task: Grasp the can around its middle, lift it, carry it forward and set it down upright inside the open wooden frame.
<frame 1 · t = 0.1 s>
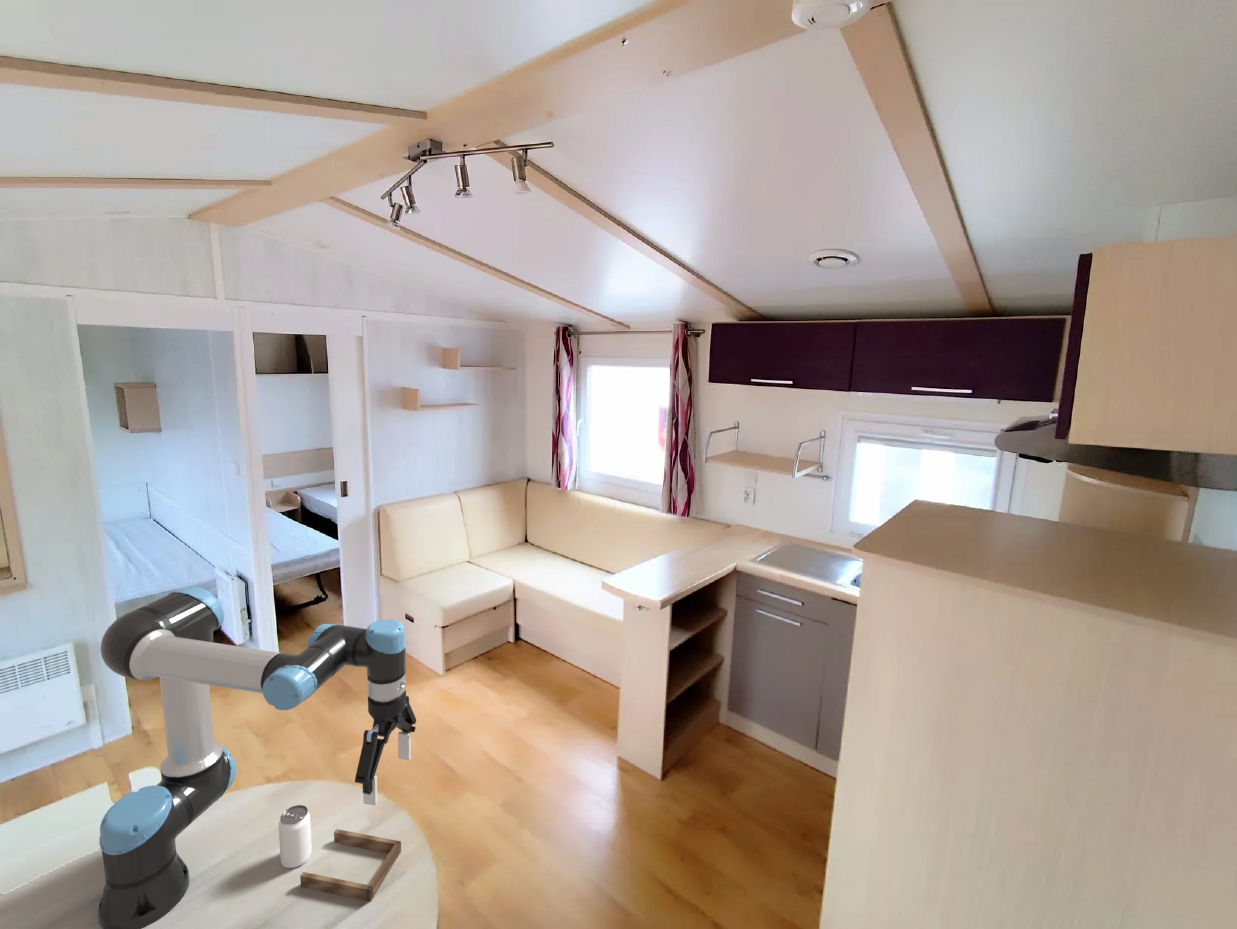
hand: (388, 779, 125), 28 cm above the table, fingers open, 13 cm apart
open wooden frame: (352, 868, 134), on the table
can: (296, 857, 136), on the table
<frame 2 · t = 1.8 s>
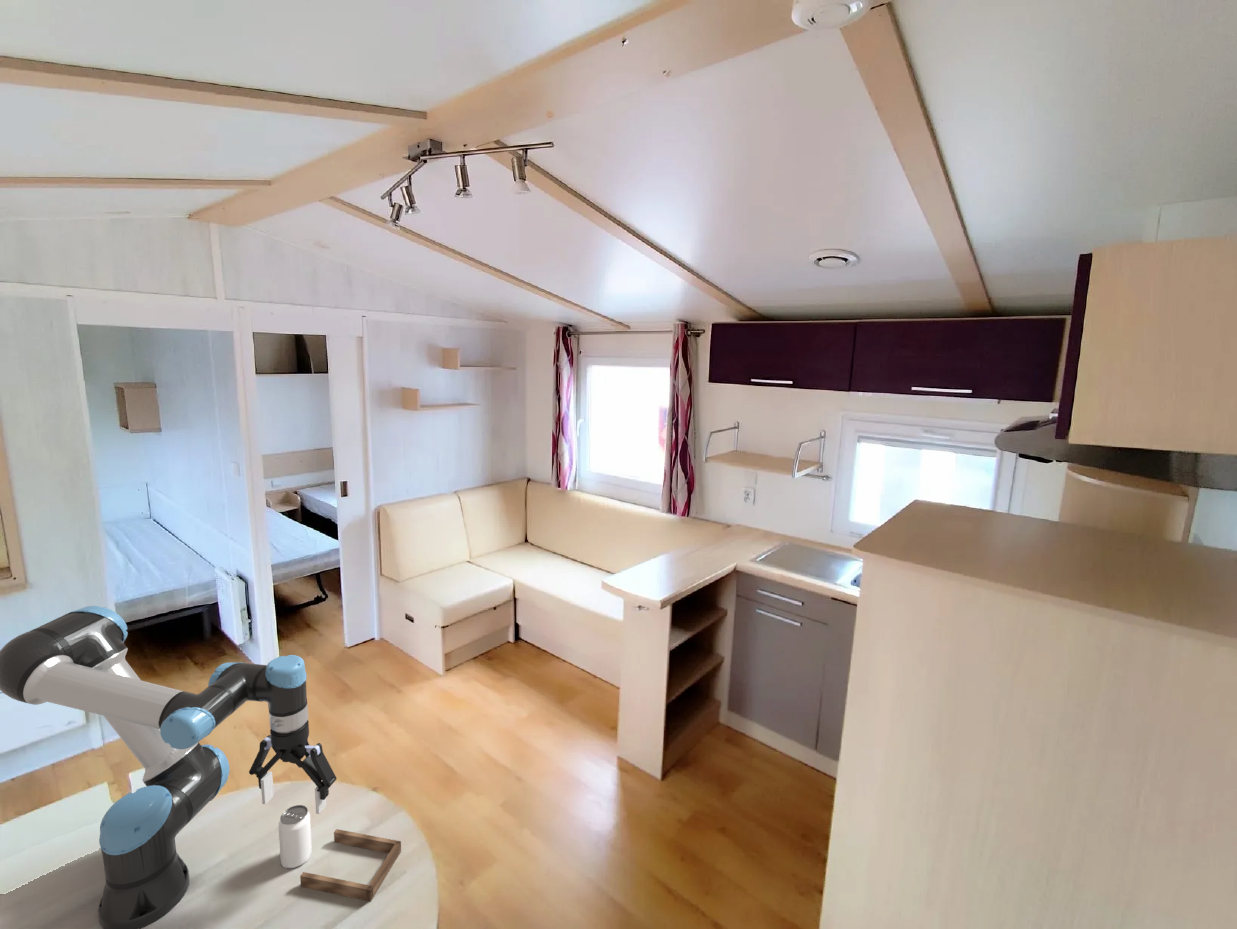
hand: (294, 804, 133), 15 cm above the table, fingers open, 13 cm apart
nothing on the table moved.
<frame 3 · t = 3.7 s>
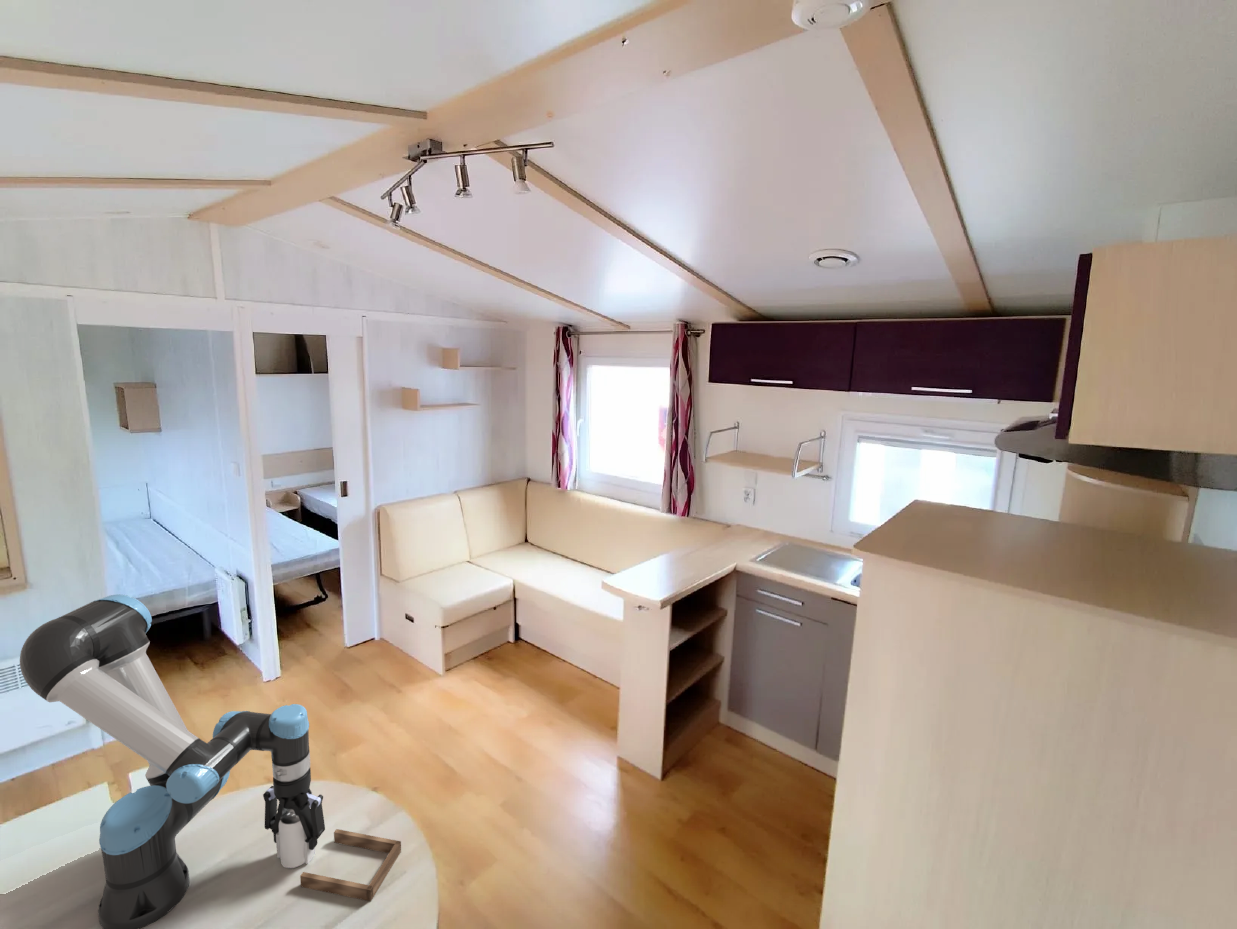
hand: (296, 855, 136), 0 cm above the table, fingers closed on can, 6 cm apart
can: (296, 858, 136), on the table, touching gripper
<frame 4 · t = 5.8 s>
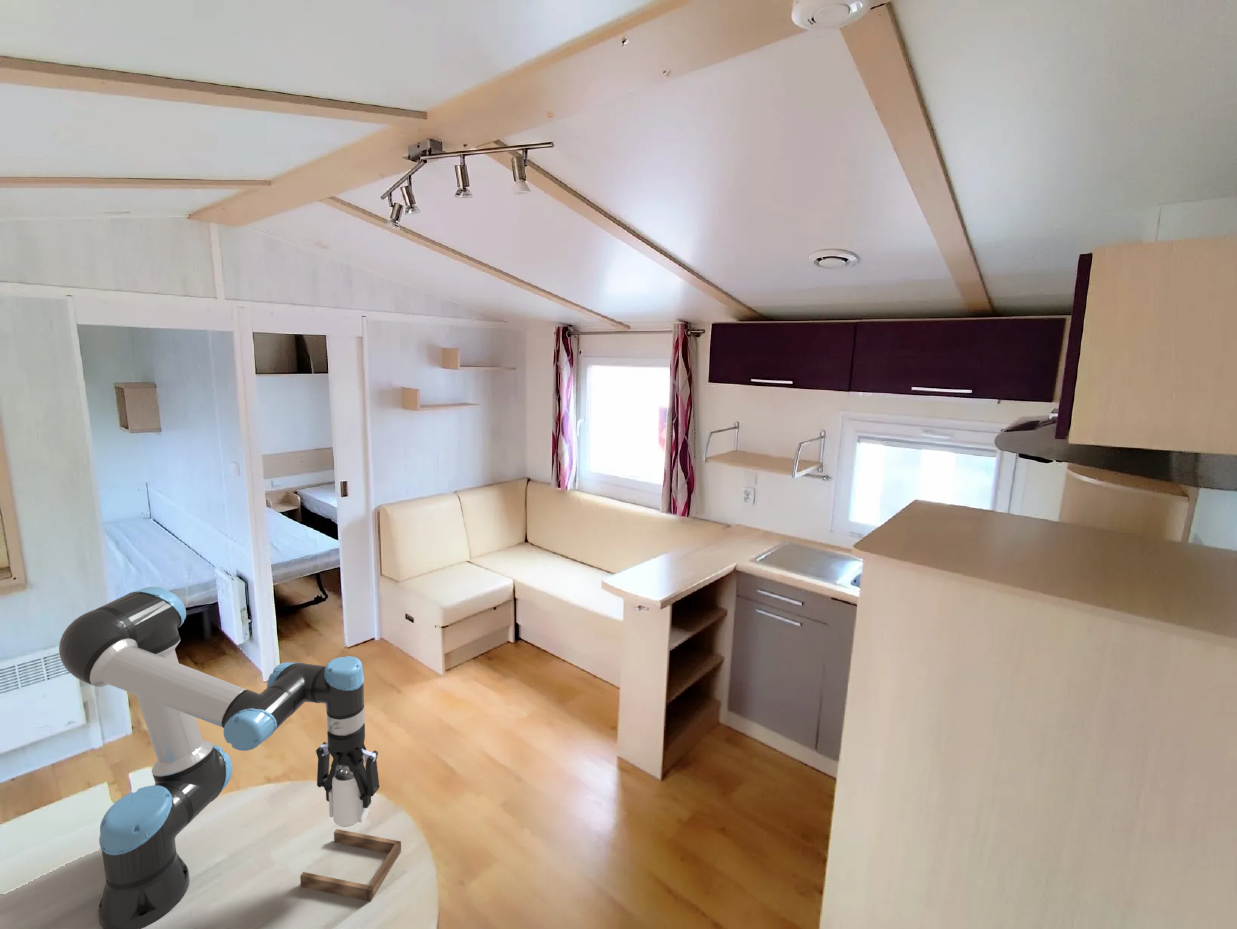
hand: (349, 814, 131), 15 cm above the table, fingers closed on can, 6 cm apart
can: (349, 817, 131), point 14 cm above the table, touching gripper
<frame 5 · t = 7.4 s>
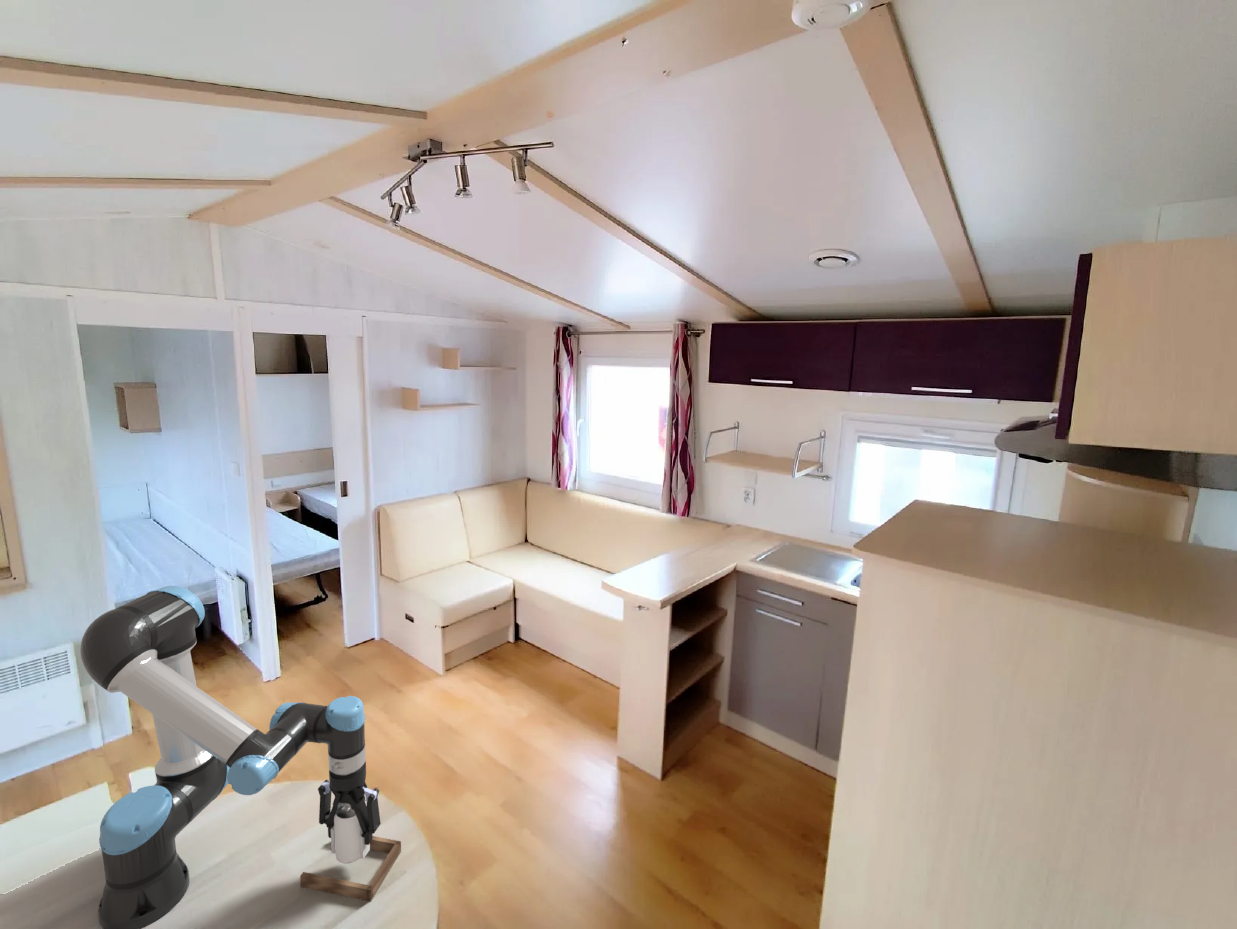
hand: (350, 850, 133), 5 cm above the table, fingers closed on can, 6 cm apart
can: (351, 853, 133), point 4 cm above the table, touching gripper
when the fingers open (2 cm above the table, at t = 8.4 s): can drops 1 cm, resting in open wooden frame.
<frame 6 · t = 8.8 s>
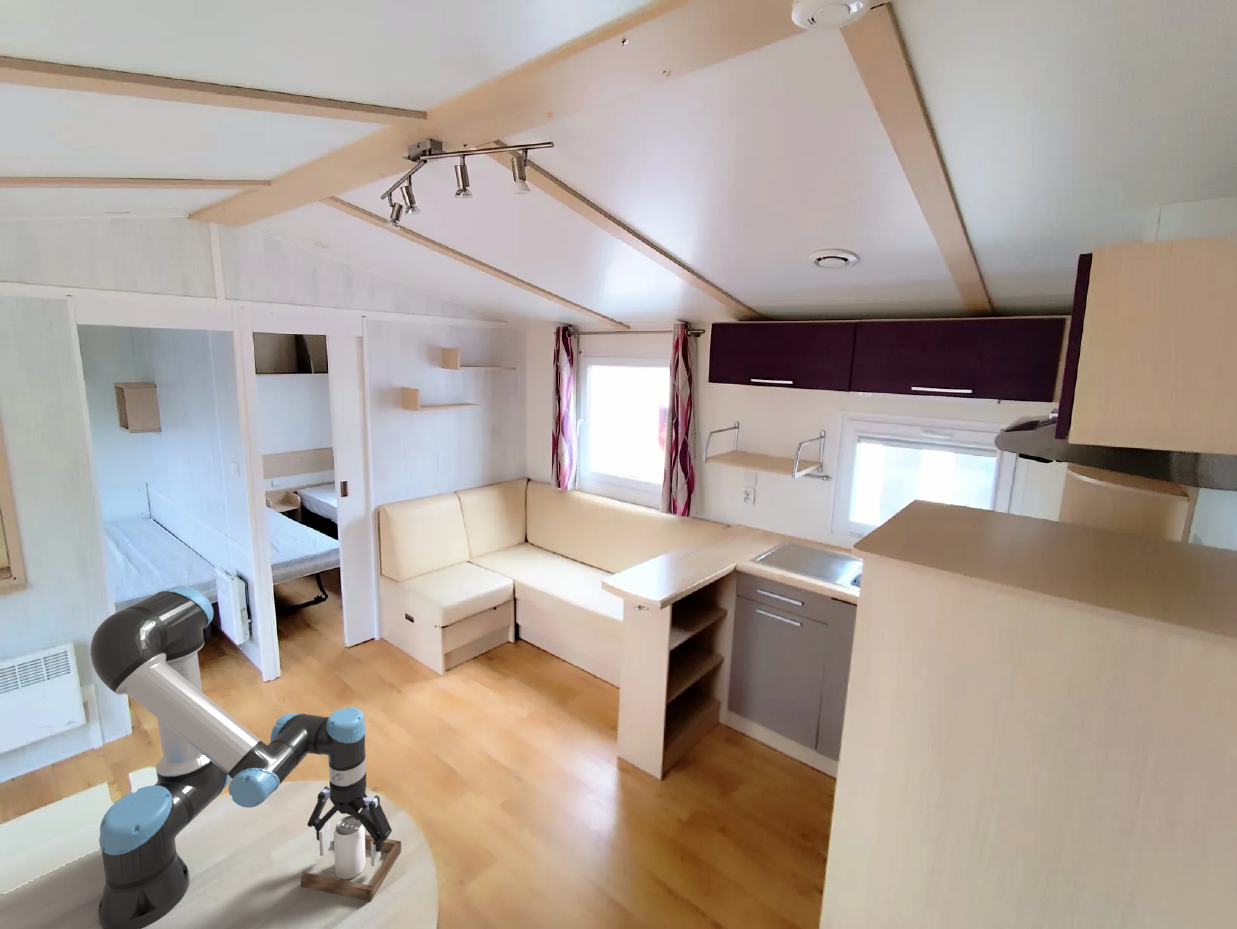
hand: (350, 855, 133), 3 cm above the table, fingers open, 12 cm apart
can: (350, 868, 134), resting in open wooden frame
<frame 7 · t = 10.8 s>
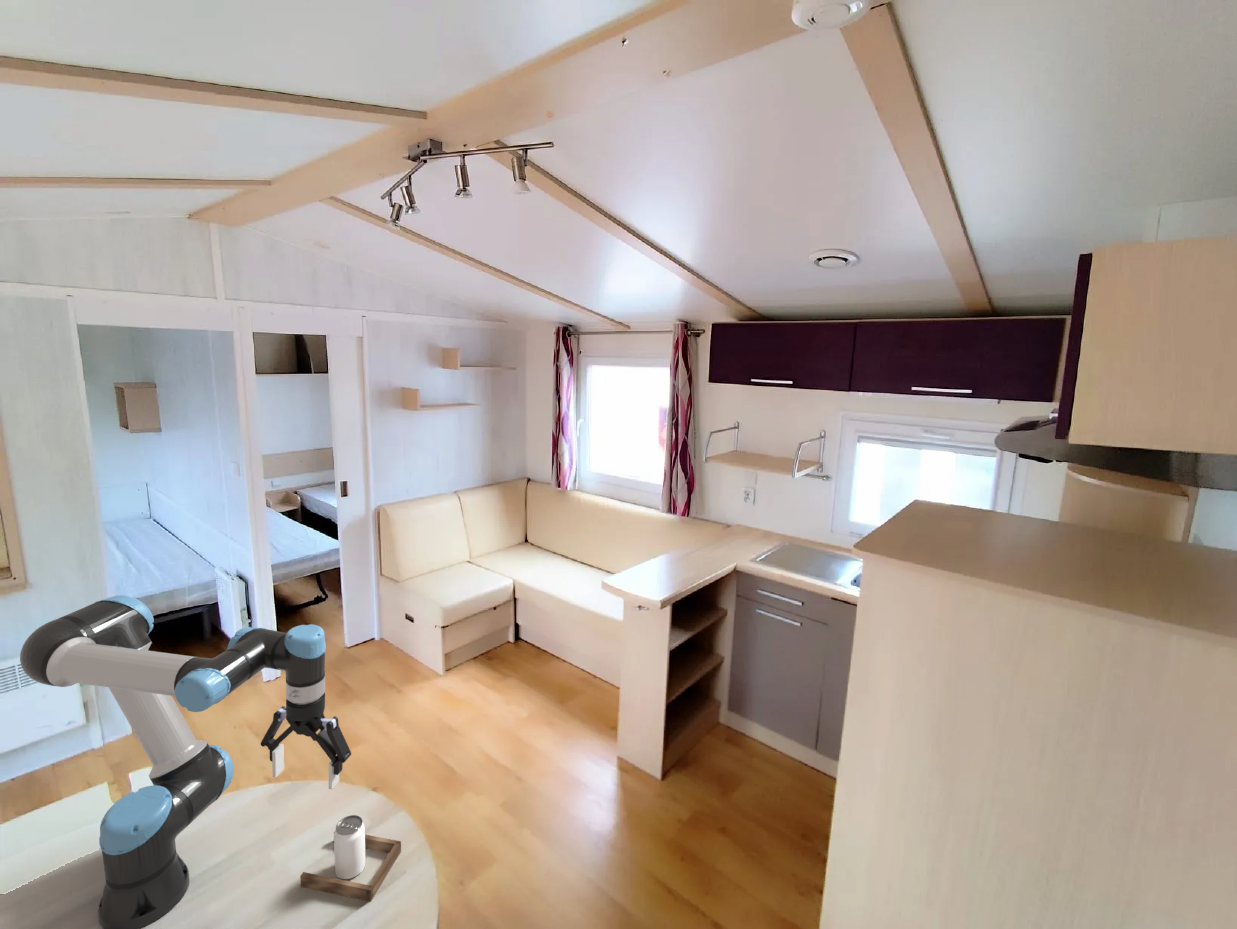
hand: (306, 778, 129), 24 cm above the table, fingers open, 13 cm apart
nothing on the table moved.
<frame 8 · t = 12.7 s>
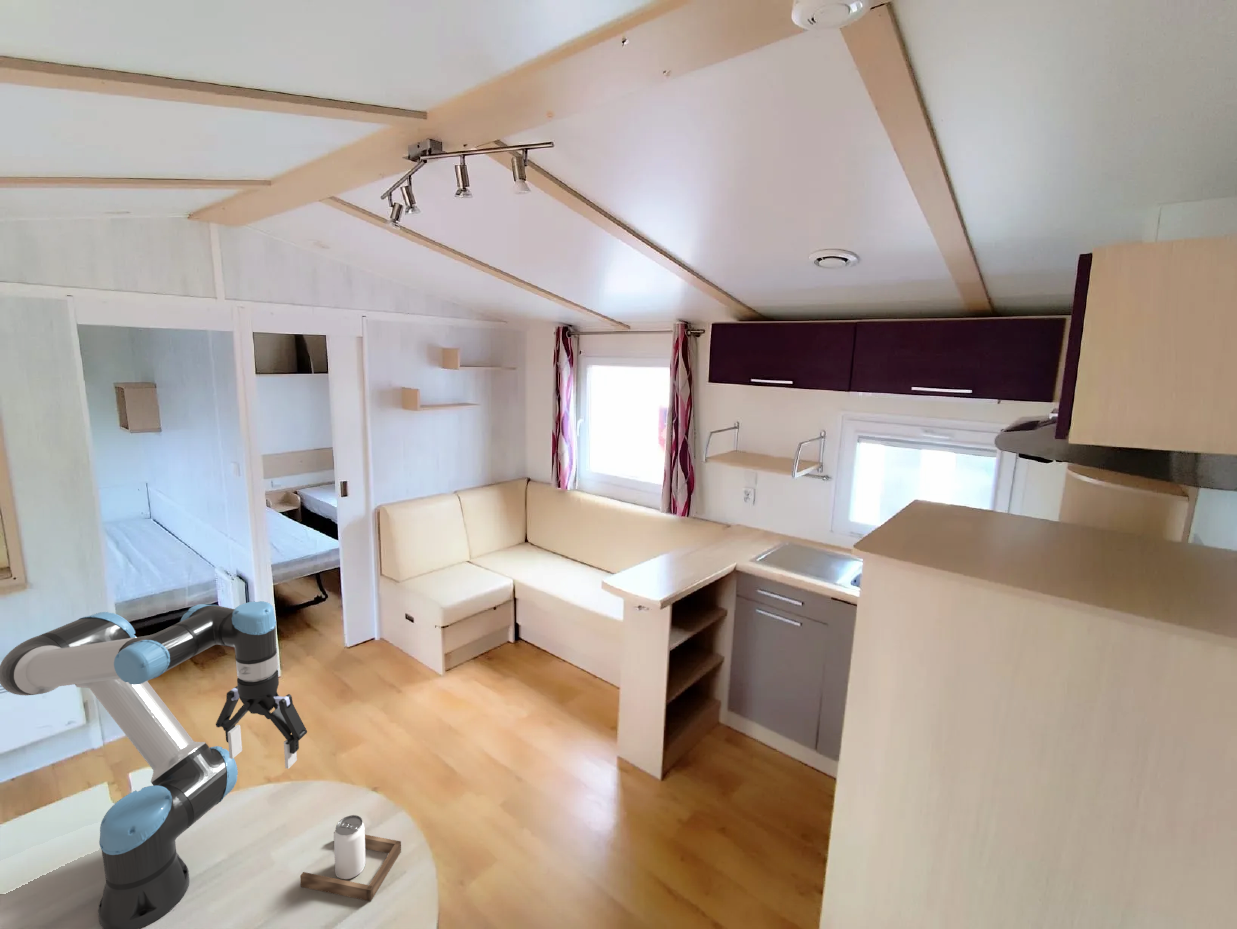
hand: (263, 759, 127), 29 cm above the table, fingers open, 13 cm apart
nothing on the table moved.
at the end: can inside the target area (0.4 cm from its centre), resting in open wooden frame; can tilted 0°; the gripper is holding nothing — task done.
